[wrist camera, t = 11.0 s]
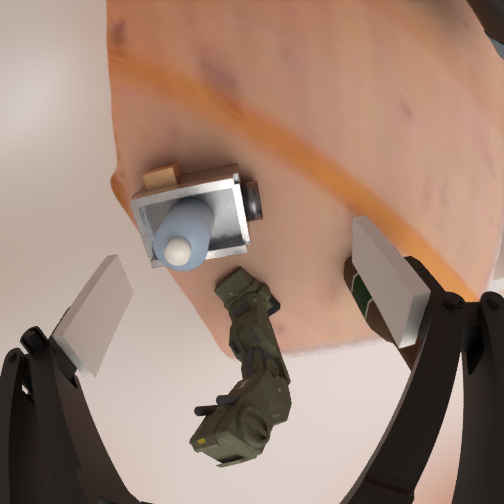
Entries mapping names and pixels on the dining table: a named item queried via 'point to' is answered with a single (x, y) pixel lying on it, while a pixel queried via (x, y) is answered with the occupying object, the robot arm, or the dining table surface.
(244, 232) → the open grey metal box
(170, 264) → the light blue bottle
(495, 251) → the dining table surface
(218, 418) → the mechanical leg
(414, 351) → the beer bottle
